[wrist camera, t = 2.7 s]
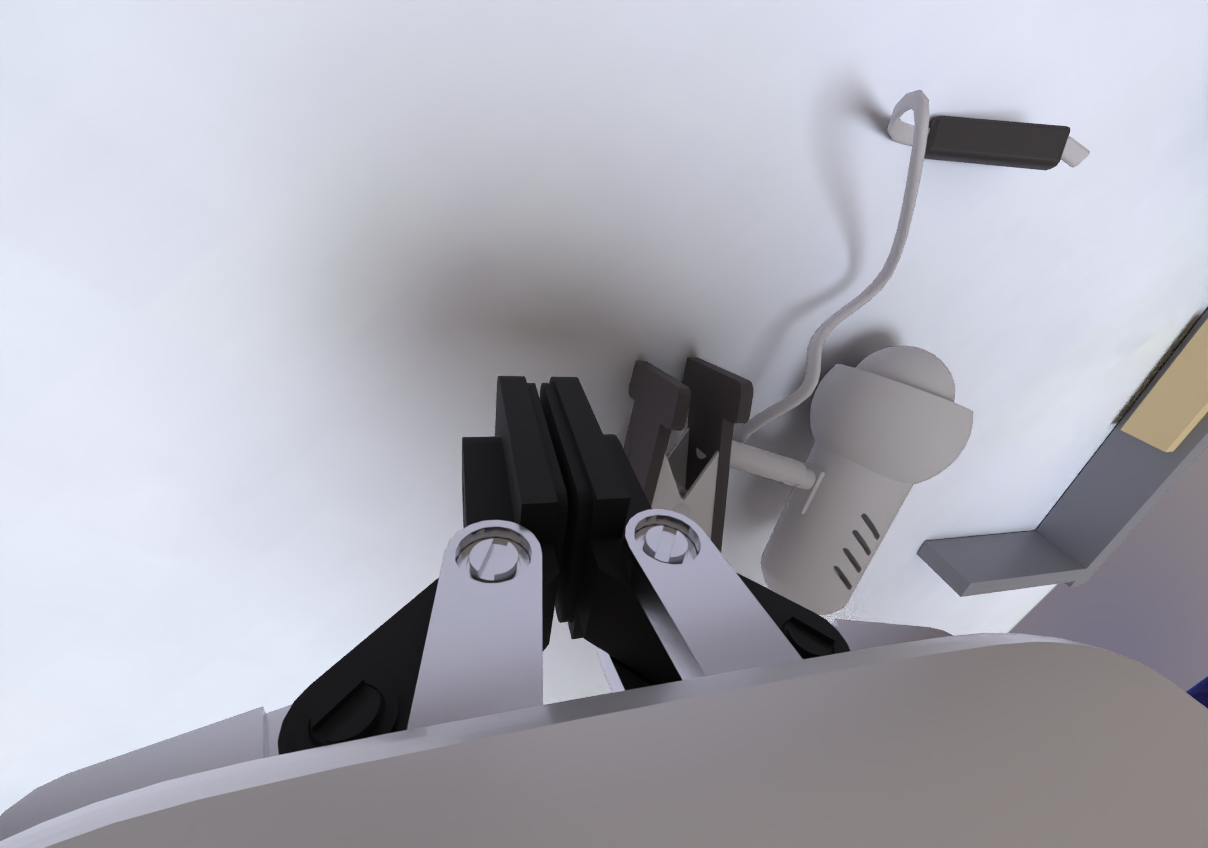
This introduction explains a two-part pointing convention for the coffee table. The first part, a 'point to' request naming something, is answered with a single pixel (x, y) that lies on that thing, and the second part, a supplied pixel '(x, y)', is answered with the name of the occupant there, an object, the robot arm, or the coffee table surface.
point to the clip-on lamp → (830, 405)
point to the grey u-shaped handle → (1097, 489)
